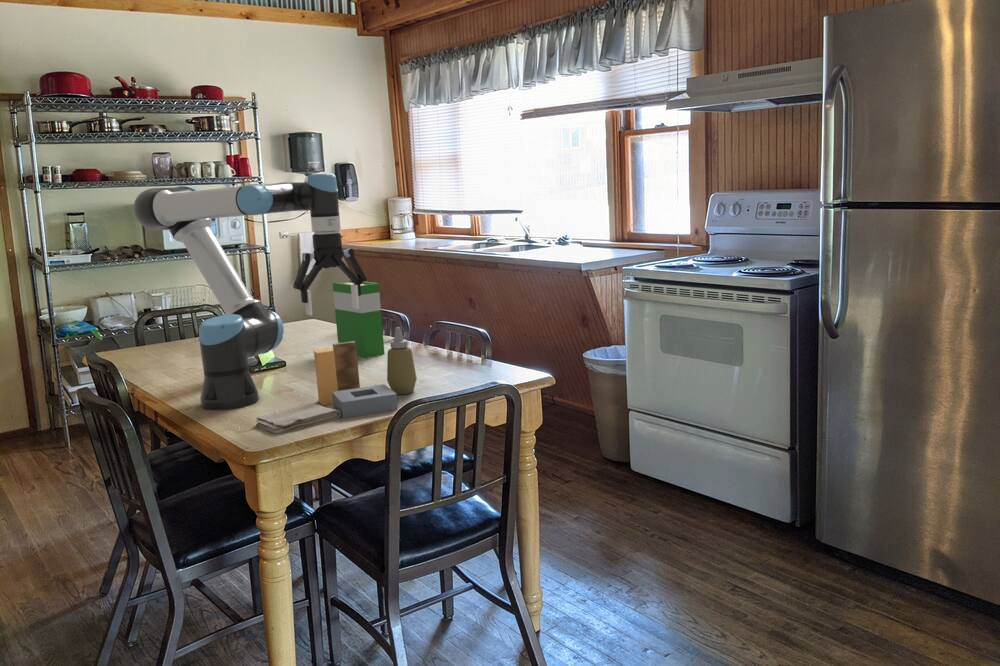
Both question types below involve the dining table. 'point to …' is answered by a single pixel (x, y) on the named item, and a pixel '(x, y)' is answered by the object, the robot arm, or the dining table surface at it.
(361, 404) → the socket block
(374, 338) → the green cereal box
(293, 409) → the washcloth
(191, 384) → the dining table surface
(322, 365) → the square peg
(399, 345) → the squeeze bottle
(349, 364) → the brown wooden block
